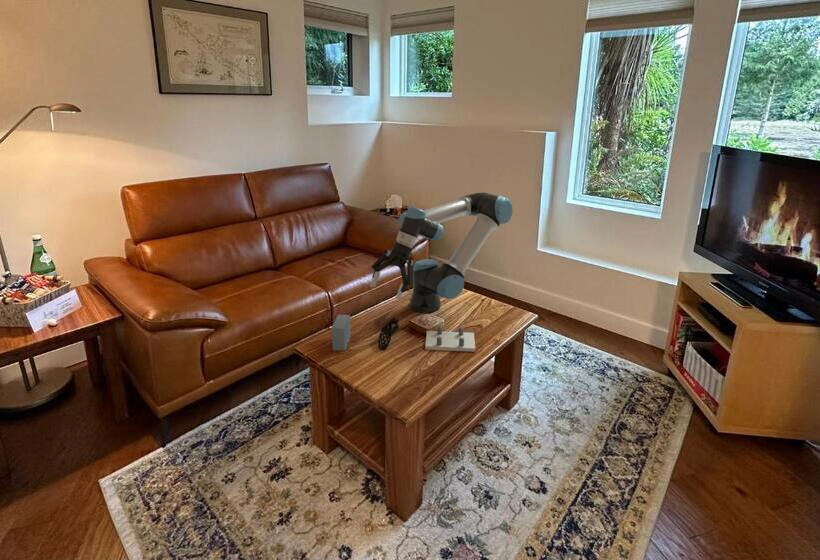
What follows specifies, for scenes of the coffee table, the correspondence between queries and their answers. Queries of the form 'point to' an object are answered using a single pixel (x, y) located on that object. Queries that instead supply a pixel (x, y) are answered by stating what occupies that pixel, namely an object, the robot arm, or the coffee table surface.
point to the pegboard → (450, 340)
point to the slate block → (341, 332)
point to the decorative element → (387, 333)
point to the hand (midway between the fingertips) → (384, 292)
